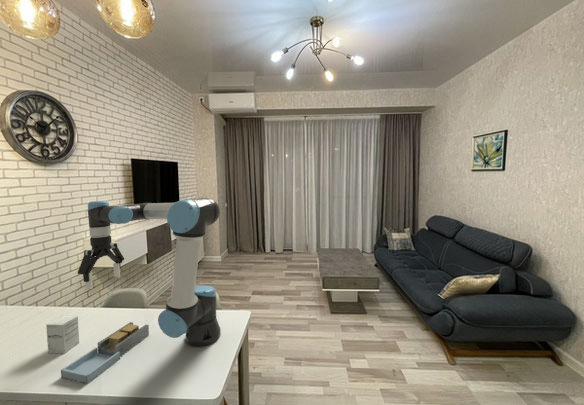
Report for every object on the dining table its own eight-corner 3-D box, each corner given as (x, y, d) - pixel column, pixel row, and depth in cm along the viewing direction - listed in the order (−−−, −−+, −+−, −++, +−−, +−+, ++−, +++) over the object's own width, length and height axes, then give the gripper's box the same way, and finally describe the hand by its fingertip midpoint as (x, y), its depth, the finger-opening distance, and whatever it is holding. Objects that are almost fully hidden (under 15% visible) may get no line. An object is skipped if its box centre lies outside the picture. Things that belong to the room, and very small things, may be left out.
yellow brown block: (128, 340, 110) (127, 333, 109) (118, 347, 105) (118, 339, 105) (118, 339, 111) (118, 331, 110) (109, 345, 106) (108, 337, 106)
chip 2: (138, 333, 115) (138, 325, 115) (130, 339, 111) (130, 331, 111) (129, 331, 116) (129, 324, 116) (121, 337, 112) (120, 329, 112)
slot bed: (148, 335, 118) (148, 324, 117) (118, 358, 102) (117, 346, 102) (131, 332, 120) (130, 322, 120) (98, 354, 105) (97, 343, 104)
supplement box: (47, 353, 105) (45, 324, 104) (64, 342, 112) (62, 314, 111) (64, 354, 105) (62, 324, 104) (80, 342, 112) (78, 315, 111)
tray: (120, 358, 102) (119, 351, 102) (87, 384, 89) (87, 375, 89) (96, 354, 105) (95, 347, 105) (61, 377, 92) (60, 370, 92)
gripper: (118, 230, 126) (120, 272, 128) (63, 242, 102) (68, 293, 103) (130, 230, 125) (133, 273, 126) (78, 242, 100) (82, 294, 102)
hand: (104, 282), depth 115 cm, fingers open, 13 cm apart
